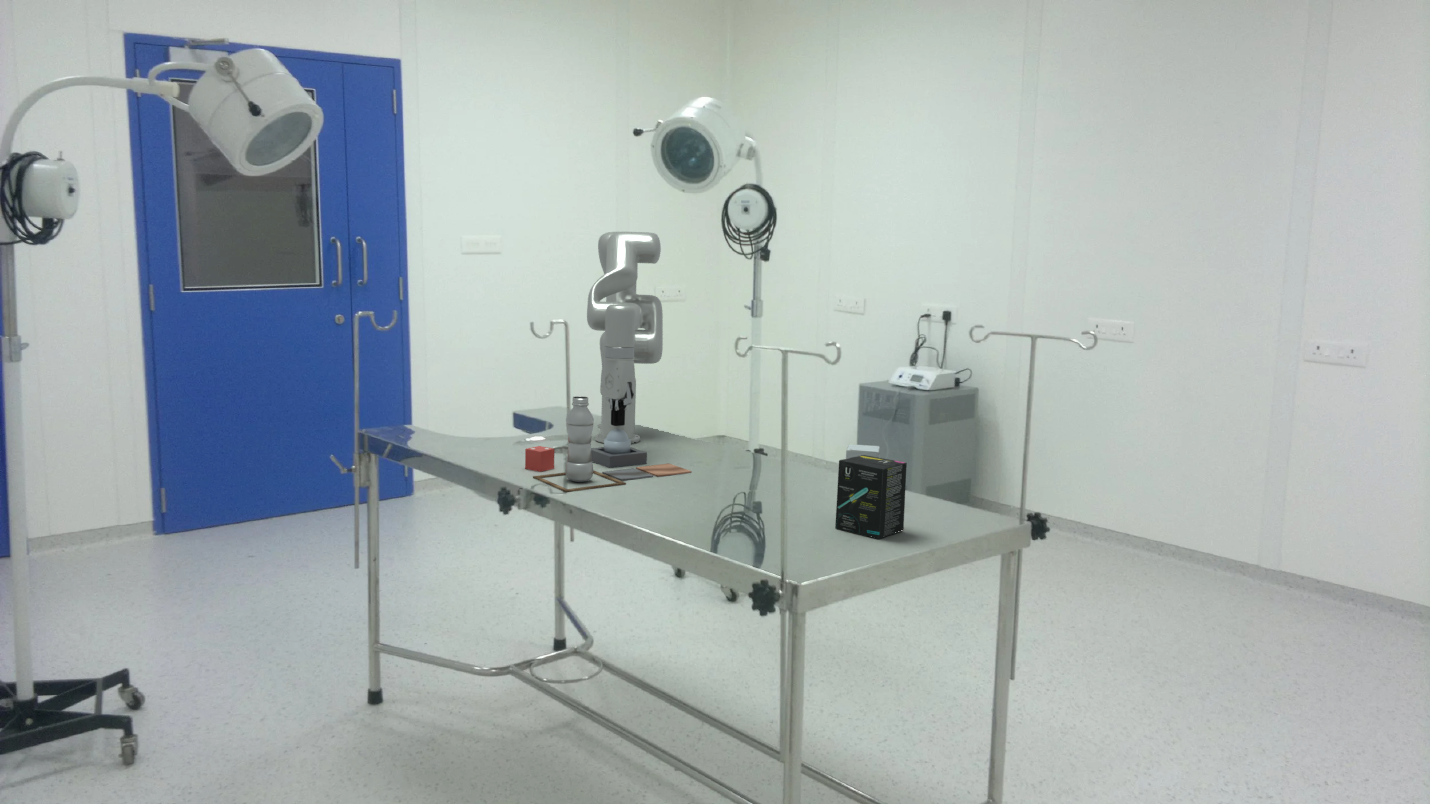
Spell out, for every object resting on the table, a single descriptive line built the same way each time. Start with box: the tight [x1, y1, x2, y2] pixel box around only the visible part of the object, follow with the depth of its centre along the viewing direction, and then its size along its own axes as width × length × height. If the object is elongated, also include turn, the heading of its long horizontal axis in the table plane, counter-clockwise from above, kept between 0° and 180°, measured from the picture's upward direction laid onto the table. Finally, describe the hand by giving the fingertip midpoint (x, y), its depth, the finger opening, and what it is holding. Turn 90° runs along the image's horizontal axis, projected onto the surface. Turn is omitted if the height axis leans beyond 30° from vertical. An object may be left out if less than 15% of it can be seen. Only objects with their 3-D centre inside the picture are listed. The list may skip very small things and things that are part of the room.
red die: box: [524, 445, 555, 473], centre depth 262 cm, size 5×5×5 cm
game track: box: [532, 462, 692, 493], centre depth 257 cm, size 16×37×1 cm, turn 127°
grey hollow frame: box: [591, 446, 648, 469], centre depth 273 cm, size 11×11×3 cm
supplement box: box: [845, 443, 881, 459], centre depth 240 cm, size 7×7×13 cm
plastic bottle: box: [564, 395, 595, 483], centre depth 249 cm, size 6×7×20 cm
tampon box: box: [834, 455, 907, 539], centre depth 217 cm, size 11×9×15 cm
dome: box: [603, 429, 632, 455], centre depth 272 cm, size 7×7×6 cm
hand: (617, 425), depth 271 cm, fingers closed
